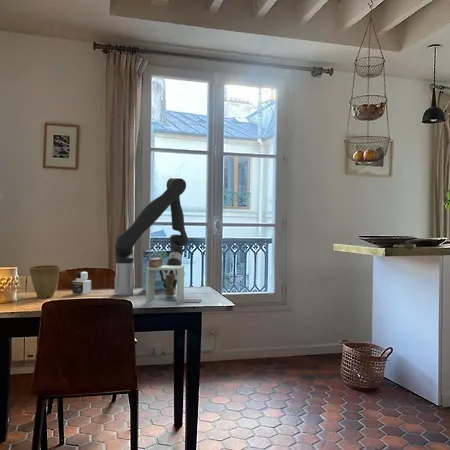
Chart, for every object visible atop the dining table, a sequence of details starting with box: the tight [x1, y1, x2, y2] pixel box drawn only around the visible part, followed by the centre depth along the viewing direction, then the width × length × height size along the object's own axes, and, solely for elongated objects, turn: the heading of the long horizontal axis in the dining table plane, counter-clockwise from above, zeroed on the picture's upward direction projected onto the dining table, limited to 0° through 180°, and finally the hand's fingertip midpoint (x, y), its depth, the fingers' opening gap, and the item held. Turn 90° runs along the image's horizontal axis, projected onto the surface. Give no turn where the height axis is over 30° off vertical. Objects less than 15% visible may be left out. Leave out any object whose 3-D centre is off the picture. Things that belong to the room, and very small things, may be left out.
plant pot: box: [29, 264, 61, 299], centre depth 238 cm, size 15×15×16 cm
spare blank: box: [149, 258, 162, 268], centre depth 231 cm, size 4×11×4 cm, turn 174°
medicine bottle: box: [71, 271, 92, 296], centre depth 251 cm, size 7×7×12 cm
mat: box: [182, 298, 202, 304], centre depth 228 cm, size 8×8×1 cm
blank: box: [165, 274, 176, 297], centre depth 242 cm, size 4×4×11 cm
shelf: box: [145, 265, 185, 304], centre depth 231 cm, size 17×13×17 cm
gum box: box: [142, 249, 177, 292], centre depth 269 cm, size 20×5×23 cm, turn 123°
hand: (169, 287), depth 240 cm, fingers closed on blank, 4 cm apart
